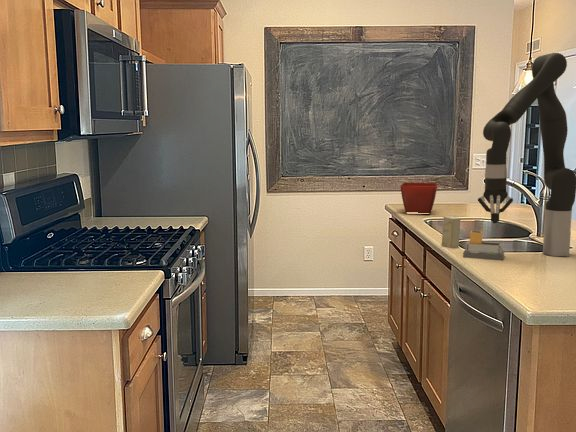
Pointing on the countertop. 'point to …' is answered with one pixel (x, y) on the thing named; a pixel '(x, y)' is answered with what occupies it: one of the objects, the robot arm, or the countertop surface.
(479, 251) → the grey tray
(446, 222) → the skincare box
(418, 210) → the plant pot
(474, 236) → the toggle
